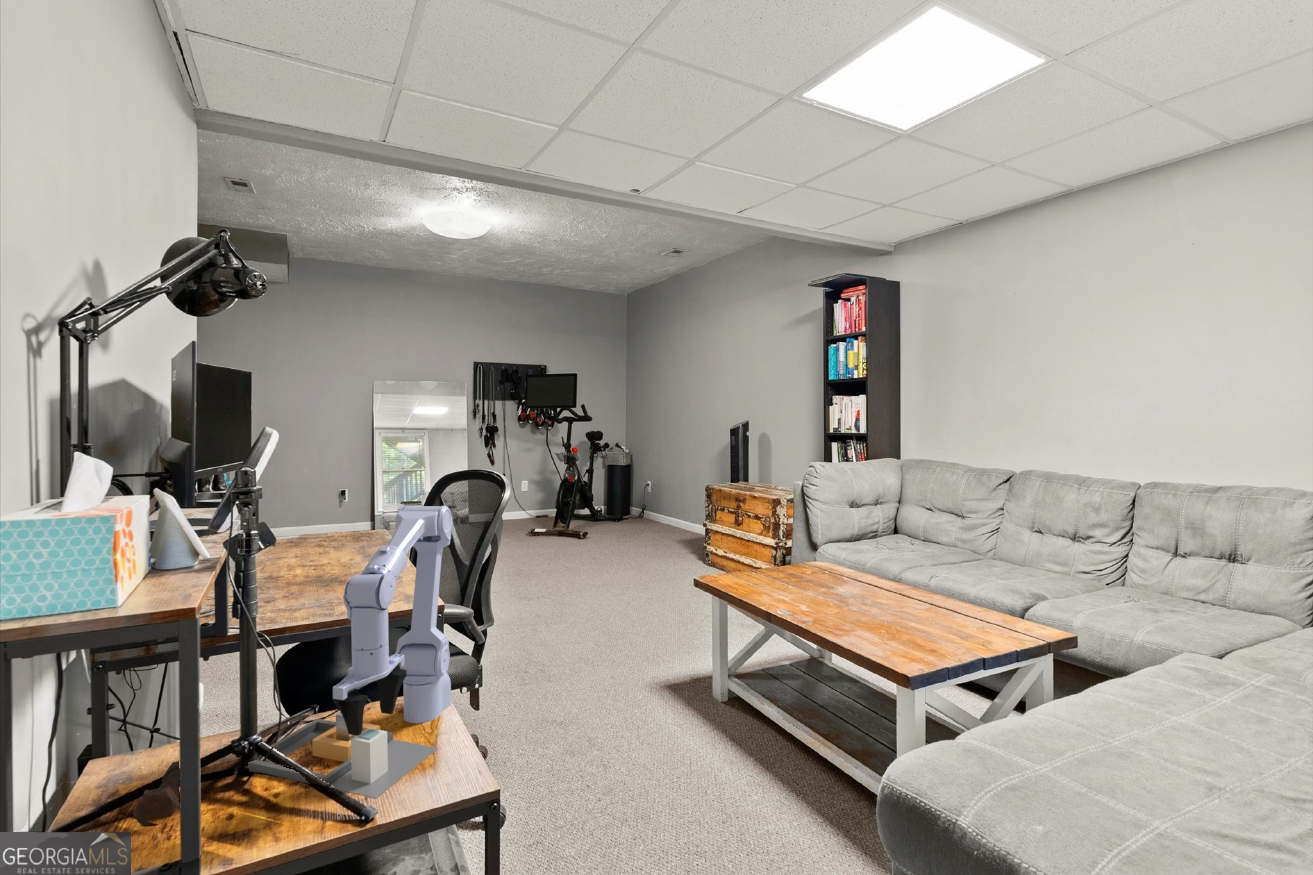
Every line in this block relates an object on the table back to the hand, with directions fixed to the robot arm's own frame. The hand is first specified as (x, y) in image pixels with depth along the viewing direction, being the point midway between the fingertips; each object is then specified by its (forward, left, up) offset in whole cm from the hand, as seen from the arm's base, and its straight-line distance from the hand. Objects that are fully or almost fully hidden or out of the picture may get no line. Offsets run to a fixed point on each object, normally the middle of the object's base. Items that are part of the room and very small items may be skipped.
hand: (371, 722), depth 108 cm
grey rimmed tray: (-3, -14, -10) cm, 18 cm away
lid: (-3, 0, -10) cm, 11 cm away
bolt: (+13, -28, -11) cm, 33 cm away
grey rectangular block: (-6, -10, -9) cm, 15 cm away
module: (0, -1, -9) cm, 9 cm away
